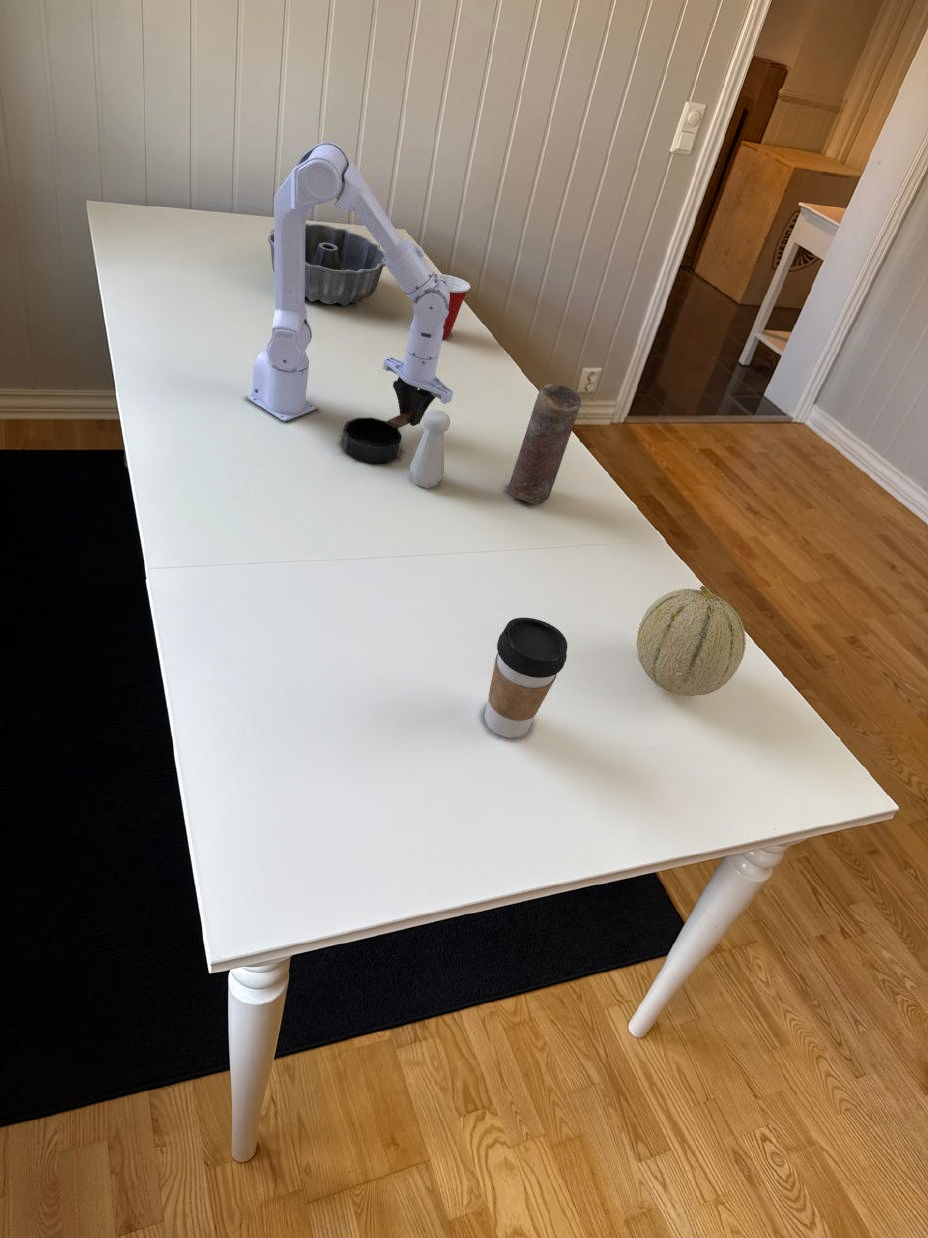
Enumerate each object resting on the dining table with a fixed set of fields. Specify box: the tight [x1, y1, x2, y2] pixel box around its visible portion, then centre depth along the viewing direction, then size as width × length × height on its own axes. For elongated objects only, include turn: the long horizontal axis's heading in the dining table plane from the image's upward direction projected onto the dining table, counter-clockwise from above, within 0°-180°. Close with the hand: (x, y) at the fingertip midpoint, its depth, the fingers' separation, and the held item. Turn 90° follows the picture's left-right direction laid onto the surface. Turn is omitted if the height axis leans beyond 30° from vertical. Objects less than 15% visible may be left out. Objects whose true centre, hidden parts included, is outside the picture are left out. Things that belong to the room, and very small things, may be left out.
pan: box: [340, 410, 412, 465], centre depth 156 cm, size 17×10×4 cm, turn 143°
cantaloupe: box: [636, 585, 747, 697], centre depth 121 cm, size 15×15×15 cm
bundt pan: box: [267, 222, 386, 306], centre depth 198 cm, size 26×26×10 cm
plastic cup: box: [438, 273, 471, 340], centre depth 193 cm, size 11×11×12 cm
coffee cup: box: [484, 617, 568, 739], centre depth 108 cm, size 8×8×15 cm
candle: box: [507, 383, 582, 505], centre depth 147 cm, size 8×7×20 cm
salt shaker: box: [409, 409, 451, 489], centre depth 146 cm, size 6×6×13 cm
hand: (410, 420), depth 160 cm, fingers closed
